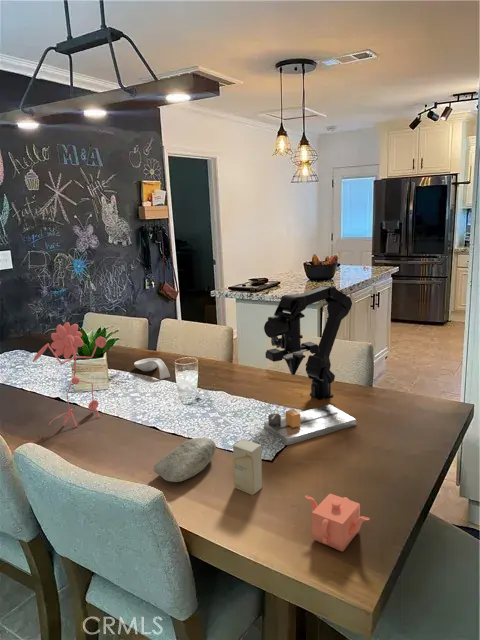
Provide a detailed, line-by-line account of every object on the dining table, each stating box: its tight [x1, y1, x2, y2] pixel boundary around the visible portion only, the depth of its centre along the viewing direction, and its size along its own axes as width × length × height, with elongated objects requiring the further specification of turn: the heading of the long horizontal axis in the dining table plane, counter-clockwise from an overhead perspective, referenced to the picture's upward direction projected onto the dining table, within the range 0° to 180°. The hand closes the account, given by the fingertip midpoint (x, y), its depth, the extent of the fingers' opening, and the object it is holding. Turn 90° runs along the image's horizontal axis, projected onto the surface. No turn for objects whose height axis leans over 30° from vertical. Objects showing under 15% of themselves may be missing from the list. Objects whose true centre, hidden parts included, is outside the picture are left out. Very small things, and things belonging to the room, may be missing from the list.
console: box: [263, 404, 357, 446], centre depth 155 cm, size 26×14×2 cm, turn 116°
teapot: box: [304, 493, 370, 552], centre depth 103 cm, size 12×15×8 cm
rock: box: [152, 437, 217, 483], centre depth 132 cm, size 8×11×20 cm
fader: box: [285, 409, 301, 428], centre depth 152 cm, size 3×4×4 cm
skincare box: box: [232, 438, 263, 496], centre depth 122 cm, size 6×4×12 cm
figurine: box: [32, 321, 115, 428], centre depth 167 cm, size 15×26×35 cm, turn 141°
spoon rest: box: [133, 357, 171, 380], centre depth 215 cm, size 24×12×7 cm, turn 37°
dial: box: [267, 413, 282, 425], centre depth 154 cm, size 4×4×2 cm
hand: (293, 374), depth 168 cm, fingers closed
